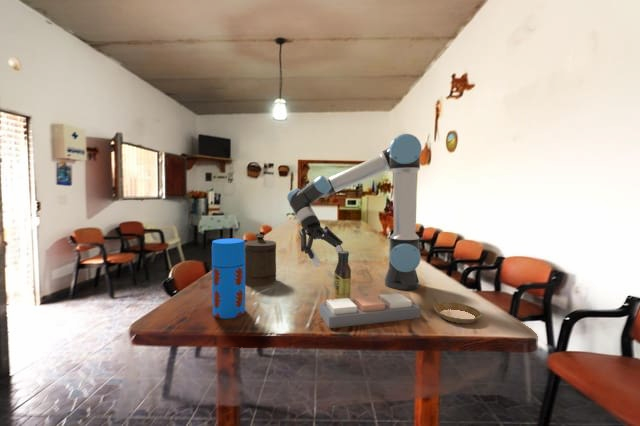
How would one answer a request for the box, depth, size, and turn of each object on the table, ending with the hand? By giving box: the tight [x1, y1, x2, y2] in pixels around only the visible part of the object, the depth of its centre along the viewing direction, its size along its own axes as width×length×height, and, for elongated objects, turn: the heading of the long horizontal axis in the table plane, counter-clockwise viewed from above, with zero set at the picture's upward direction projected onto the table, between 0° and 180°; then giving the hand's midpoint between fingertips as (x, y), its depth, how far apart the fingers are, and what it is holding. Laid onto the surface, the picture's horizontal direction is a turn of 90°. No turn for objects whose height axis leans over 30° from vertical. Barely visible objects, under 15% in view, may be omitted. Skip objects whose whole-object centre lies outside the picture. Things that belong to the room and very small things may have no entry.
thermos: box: [211, 237, 246, 320], centre depth 105 cm, size 11×11×25 cm
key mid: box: [353, 295, 385, 312], centre depth 104 cm, size 8×8×2 cm
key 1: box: [325, 298, 357, 315], centre depth 101 cm, size 8×8×2 cm
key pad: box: [318, 297, 421, 329], centre depth 104 cm, size 32×12×4 cm, turn 105°
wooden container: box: [245, 233, 277, 287], centre depth 141 cm, size 15×15×22 cm
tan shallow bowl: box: [433, 302, 482, 324], centre depth 104 cm, size 15×15×3 cm
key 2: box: [379, 293, 413, 309], centre depth 107 cm, size 8×8×2 cm
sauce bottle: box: [333, 250, 352, 300], centre depth 115 cm, size 7×6×20 cm
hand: (332, 262), depth 118 cm, fingers open, 13 cm apart
